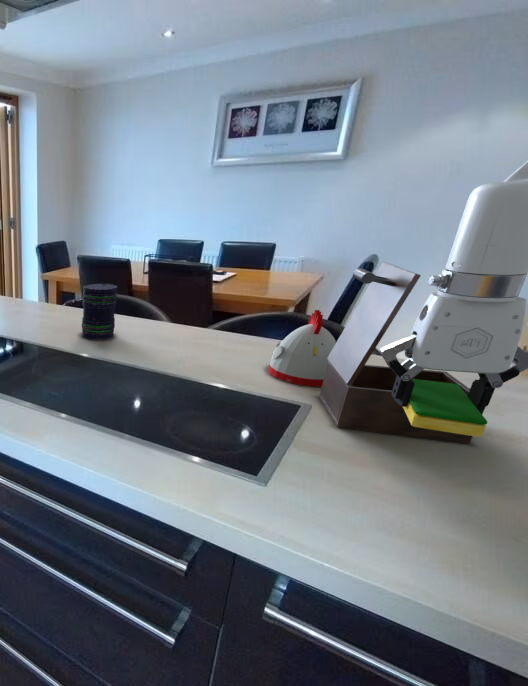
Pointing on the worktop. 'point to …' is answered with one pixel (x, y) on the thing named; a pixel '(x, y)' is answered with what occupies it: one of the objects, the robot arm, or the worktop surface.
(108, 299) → the black striped canister
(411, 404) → the dish sponge
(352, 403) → the chest
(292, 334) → the kitchen timer
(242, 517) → the worktop surface
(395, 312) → the lid
